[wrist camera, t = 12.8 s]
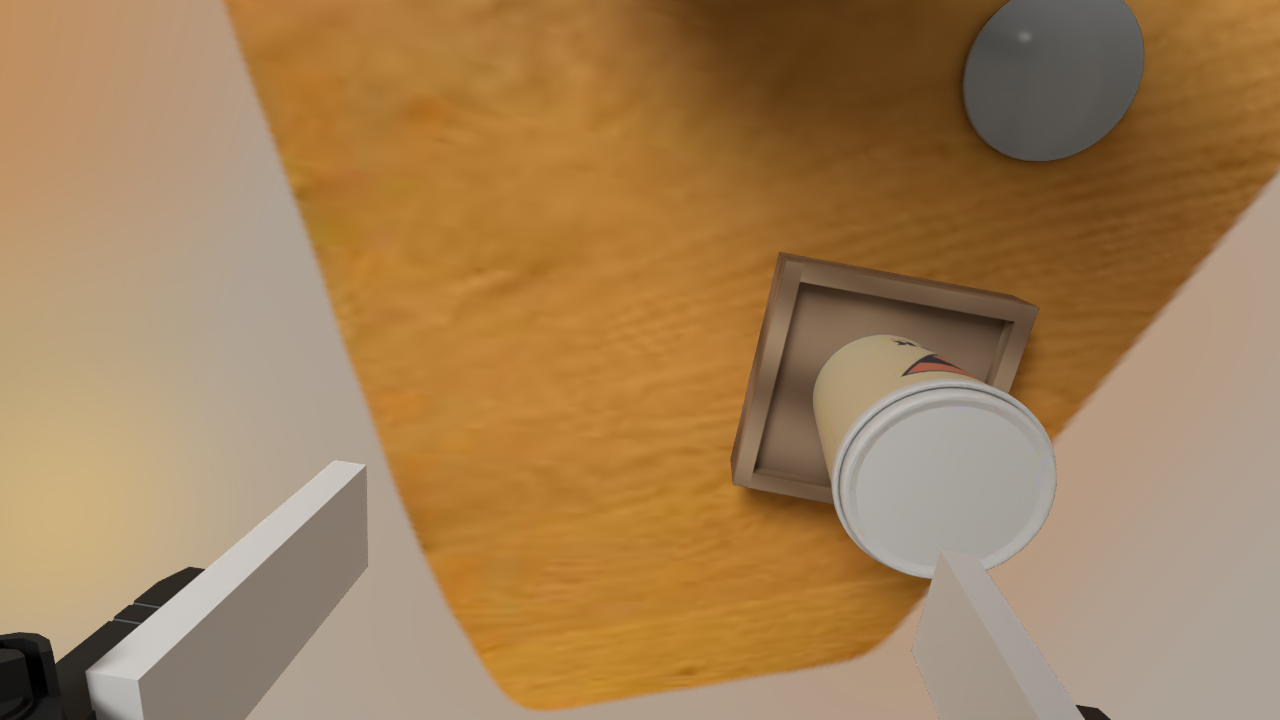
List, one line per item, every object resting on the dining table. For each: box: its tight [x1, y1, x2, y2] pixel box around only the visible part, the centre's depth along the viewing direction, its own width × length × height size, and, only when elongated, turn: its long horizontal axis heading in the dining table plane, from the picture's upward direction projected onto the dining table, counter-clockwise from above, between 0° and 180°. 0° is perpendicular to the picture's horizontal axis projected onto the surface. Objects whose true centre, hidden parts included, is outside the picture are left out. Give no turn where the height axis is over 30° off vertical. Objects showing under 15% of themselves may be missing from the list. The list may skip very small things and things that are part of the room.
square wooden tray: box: [731, 252, 1039, 504], centre depth 41 cm, size 14×14×4 cm
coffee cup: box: [813, 335, 1056, 579], centre depth 34 cm, size 9×9×12 cm
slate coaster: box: [962, 0, 1144, 161], centre depth 37 cm, size 9×9×1 cm
